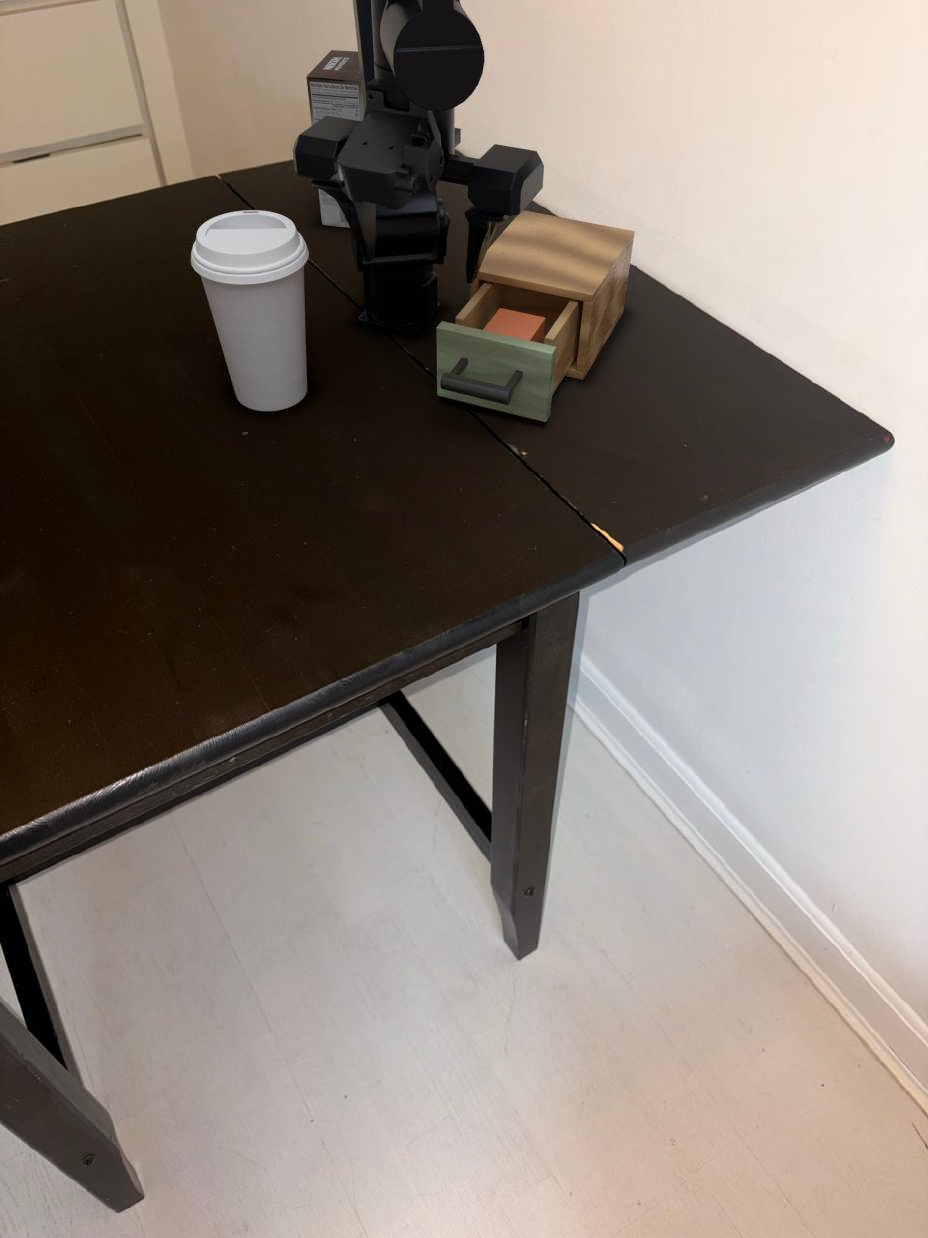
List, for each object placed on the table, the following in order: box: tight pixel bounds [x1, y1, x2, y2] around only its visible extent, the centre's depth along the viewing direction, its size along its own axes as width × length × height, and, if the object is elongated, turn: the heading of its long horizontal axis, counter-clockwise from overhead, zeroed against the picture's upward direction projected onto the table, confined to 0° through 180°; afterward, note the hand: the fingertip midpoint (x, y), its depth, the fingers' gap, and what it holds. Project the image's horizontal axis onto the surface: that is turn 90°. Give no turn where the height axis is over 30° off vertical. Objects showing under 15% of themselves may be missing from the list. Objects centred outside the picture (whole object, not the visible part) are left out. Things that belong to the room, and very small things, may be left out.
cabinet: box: [469, 209, 635, 381], centre depth 92 cm, size 14×12×9 cm
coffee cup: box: [190, 209, 310, 412], centre depth 82 cm, size 10×10×15 cm
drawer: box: [435, 281, 584, 423], centre depth 85 cm, size 17×10×7 cm, turn 157°
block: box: [483, 308, 545, 344], centre depth 85 cm, size 4×4×4 cm
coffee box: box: [305, 49, 364, 229], centre depth 108 cm, size 9×6×16 cm
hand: (419, 270), depth 79 cm, fingers open, 9 cm apart
